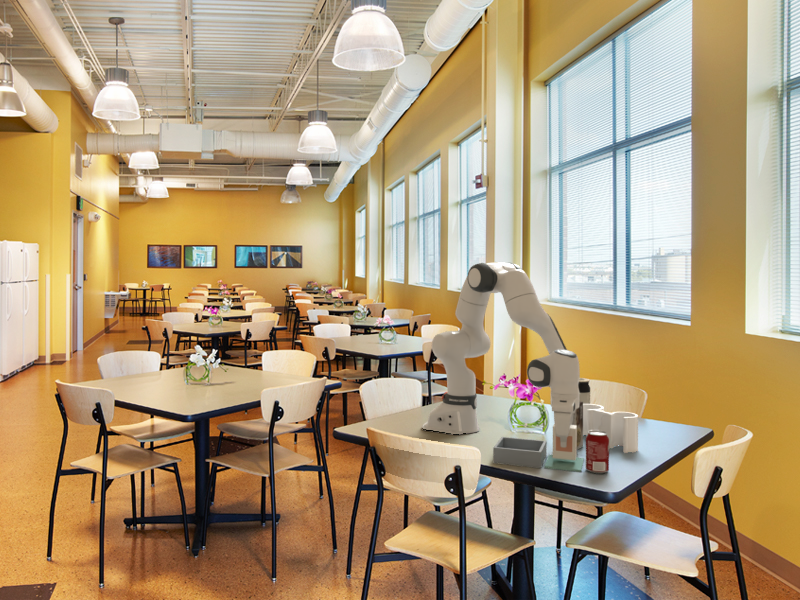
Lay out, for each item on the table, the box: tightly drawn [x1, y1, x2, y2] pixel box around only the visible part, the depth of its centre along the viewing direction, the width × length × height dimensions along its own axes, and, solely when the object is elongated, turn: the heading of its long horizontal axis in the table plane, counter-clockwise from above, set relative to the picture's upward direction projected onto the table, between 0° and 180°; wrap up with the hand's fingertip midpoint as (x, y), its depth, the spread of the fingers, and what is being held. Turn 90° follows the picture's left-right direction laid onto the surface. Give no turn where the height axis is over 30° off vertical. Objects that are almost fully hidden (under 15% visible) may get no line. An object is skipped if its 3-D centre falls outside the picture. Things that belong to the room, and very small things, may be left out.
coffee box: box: [572, 401, 584, 451], centre depth 206 cm, size 9×6×16 cm
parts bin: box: [492, 436, 547, 469], centre depth 194 cm, size 15×14×5 cm
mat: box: [544, 454, 585, 473], centre depth 189 cm, size 11×13×1 cm
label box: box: [552, 424, 578, 460], centre depth 189 cm, size 5×7×10 cm, turn 69°
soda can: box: [585, 430, 610, 475], centre depth 181 cm, size 7×7×12 cm
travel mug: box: [578, 377, 591, 404], centre depth 242 cm, size 8×8×18 cm
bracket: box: [583, 403, 639, 454], centre depth 212 cm, size 25×10×12 cm, turn 31°
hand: (564, 444), depth 189 cm, fingers closed on label box, 4 cm apart
